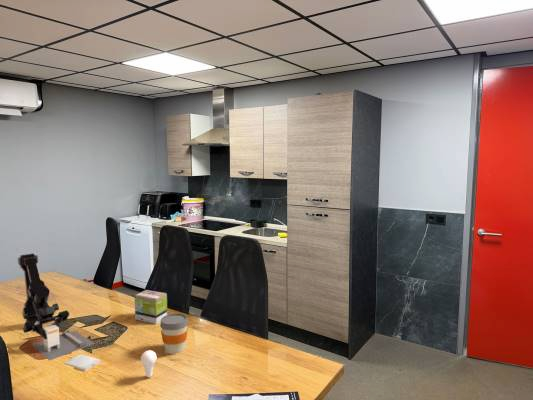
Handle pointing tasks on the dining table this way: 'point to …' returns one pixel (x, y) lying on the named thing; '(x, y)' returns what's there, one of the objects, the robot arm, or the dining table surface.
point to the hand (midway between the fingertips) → (52, 336)
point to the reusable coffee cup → (174, 332)
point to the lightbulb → (148, 362)
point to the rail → (74, 339)
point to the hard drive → (83, 362)
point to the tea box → (150, 306)
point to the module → (51, 337)
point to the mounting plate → (62, 346)
